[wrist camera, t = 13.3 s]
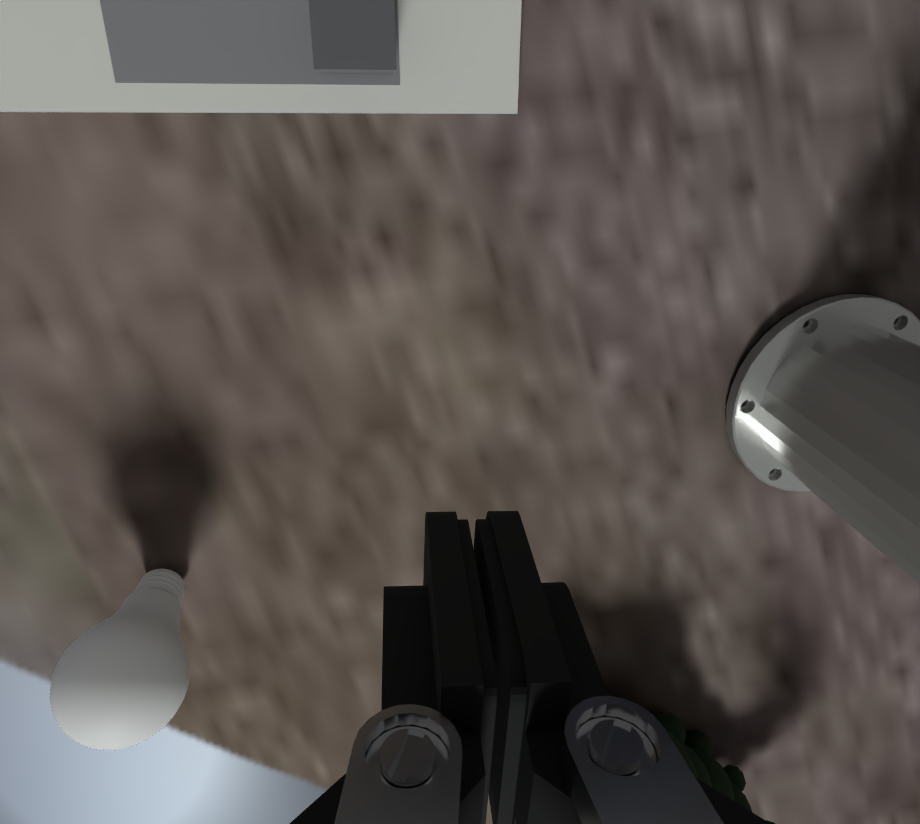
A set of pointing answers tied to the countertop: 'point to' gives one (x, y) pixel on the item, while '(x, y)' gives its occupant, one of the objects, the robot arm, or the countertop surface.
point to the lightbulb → (125, 669)
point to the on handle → (353, 36)
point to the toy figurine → (706, 761)
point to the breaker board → (249, 58)
